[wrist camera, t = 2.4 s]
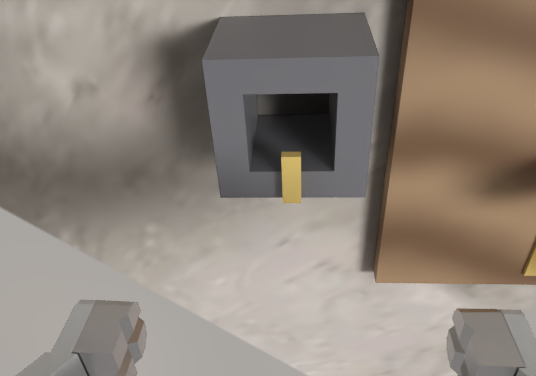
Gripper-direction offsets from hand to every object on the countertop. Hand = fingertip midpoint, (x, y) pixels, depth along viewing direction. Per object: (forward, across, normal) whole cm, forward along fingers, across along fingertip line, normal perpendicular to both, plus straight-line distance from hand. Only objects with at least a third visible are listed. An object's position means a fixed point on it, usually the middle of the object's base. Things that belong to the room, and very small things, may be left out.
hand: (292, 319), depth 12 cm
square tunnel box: (+14, 0, -1) cm, 14 cm away
